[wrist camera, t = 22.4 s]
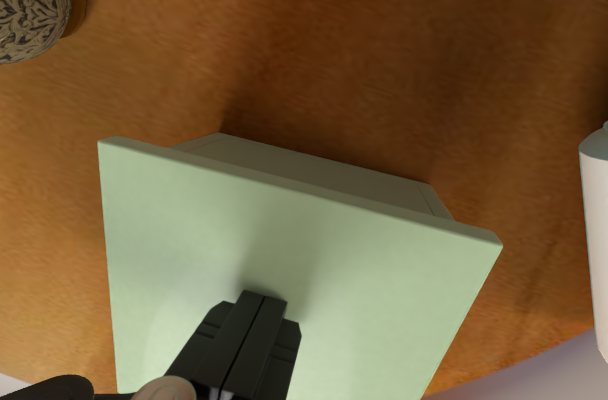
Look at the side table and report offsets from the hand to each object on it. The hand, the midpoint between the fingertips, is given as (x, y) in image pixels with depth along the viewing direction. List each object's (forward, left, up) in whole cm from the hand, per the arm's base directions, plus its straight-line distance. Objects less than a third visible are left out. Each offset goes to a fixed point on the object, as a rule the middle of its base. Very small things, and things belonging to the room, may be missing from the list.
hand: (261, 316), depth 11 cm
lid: (+1, 0, -1) cm, 1 cm away
